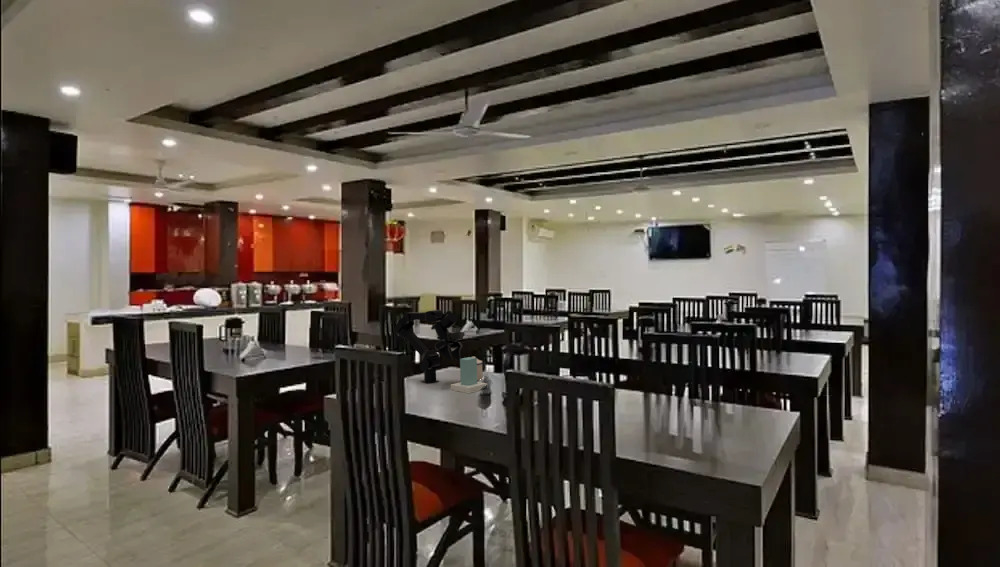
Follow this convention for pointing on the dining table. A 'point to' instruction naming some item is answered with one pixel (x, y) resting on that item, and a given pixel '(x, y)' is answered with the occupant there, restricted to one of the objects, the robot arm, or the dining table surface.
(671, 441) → the dining table surface
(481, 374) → the teacup with lid
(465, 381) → the teal block
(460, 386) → the plate
